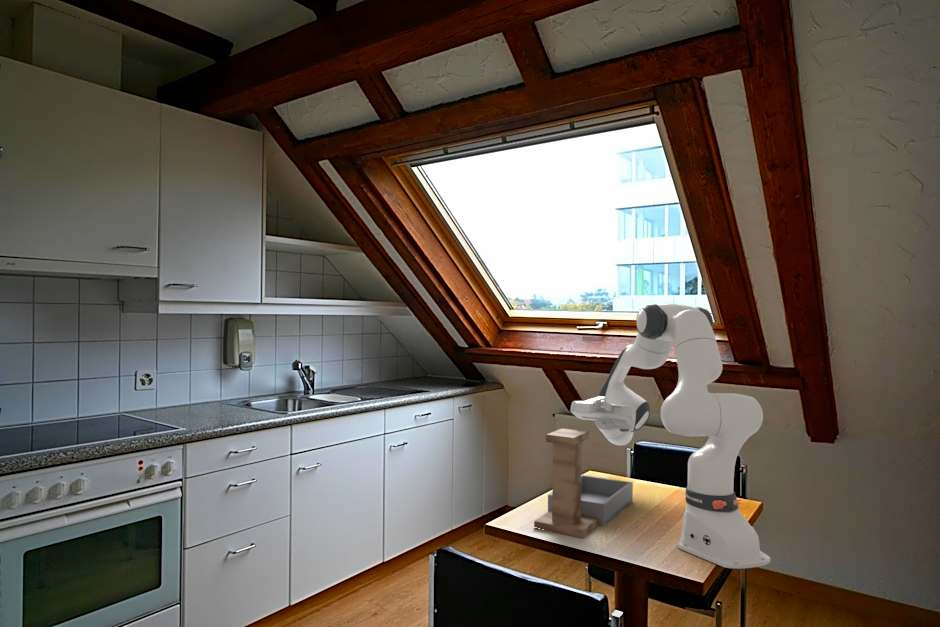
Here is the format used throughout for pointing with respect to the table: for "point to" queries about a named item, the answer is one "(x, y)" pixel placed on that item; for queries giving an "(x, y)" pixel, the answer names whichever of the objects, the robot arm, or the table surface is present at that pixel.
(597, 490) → the parts tray
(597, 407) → the white bar
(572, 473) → the stand
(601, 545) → the table surface
